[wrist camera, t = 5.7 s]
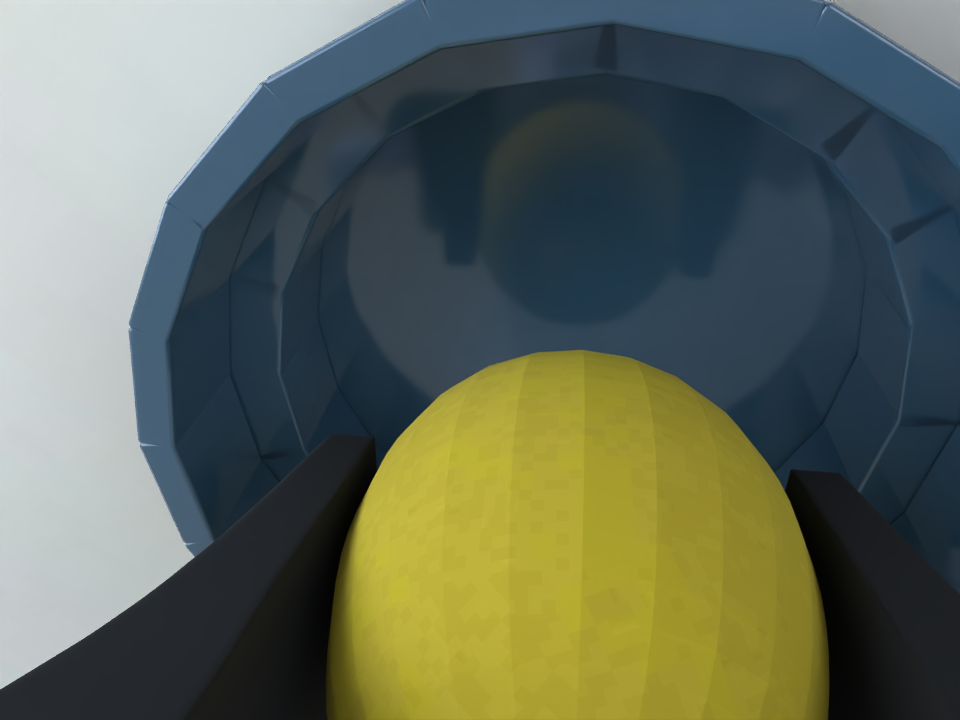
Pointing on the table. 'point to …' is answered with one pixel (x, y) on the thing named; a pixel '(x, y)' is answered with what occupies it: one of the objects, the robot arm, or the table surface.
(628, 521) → the lemon
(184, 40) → the table surface
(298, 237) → the bowl
